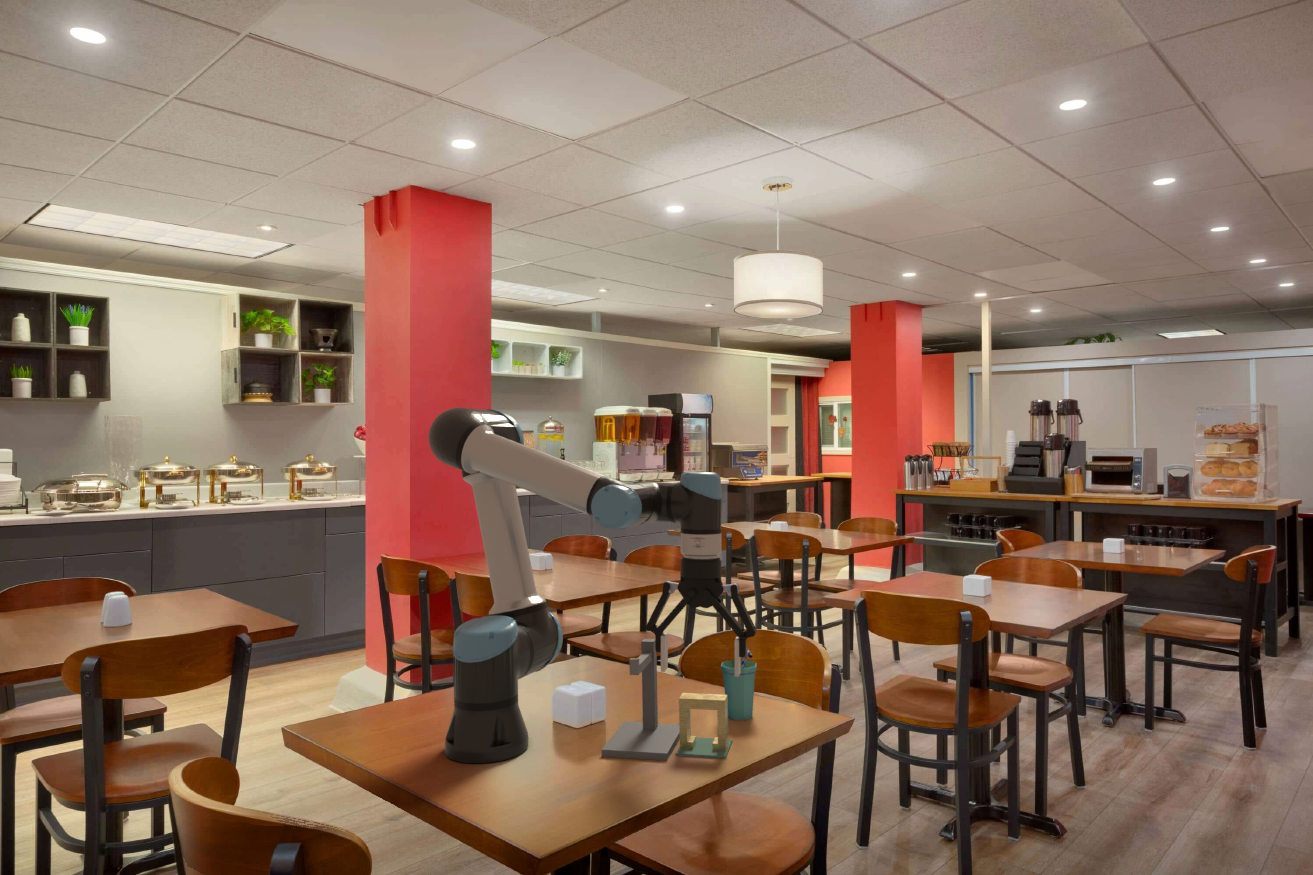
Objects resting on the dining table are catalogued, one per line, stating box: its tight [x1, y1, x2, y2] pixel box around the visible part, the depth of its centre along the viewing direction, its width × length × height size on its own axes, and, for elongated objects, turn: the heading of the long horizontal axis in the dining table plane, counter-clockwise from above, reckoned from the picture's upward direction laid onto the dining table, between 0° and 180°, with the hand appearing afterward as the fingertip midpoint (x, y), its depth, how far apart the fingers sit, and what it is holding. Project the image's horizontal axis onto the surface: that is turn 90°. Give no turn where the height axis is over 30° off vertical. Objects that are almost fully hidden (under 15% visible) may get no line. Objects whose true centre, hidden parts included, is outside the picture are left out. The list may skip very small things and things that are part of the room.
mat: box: [675, 736, 733, 759], centre depth 151 cm, size 9×9×1 cm
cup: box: [720, 642, 758, 721], centre depth 169 cm, size 14×8×15 cm, turn 12°
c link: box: [678, 692, 729, 751], centre depth 151 cm, size 8×4×9 cm, turn 77°
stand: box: [600, 638, 680, 761], centre depth 155 cm, size 12×16×18 cm
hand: (700, 672), depth 151 cm, fingers open, 13 cm apart
